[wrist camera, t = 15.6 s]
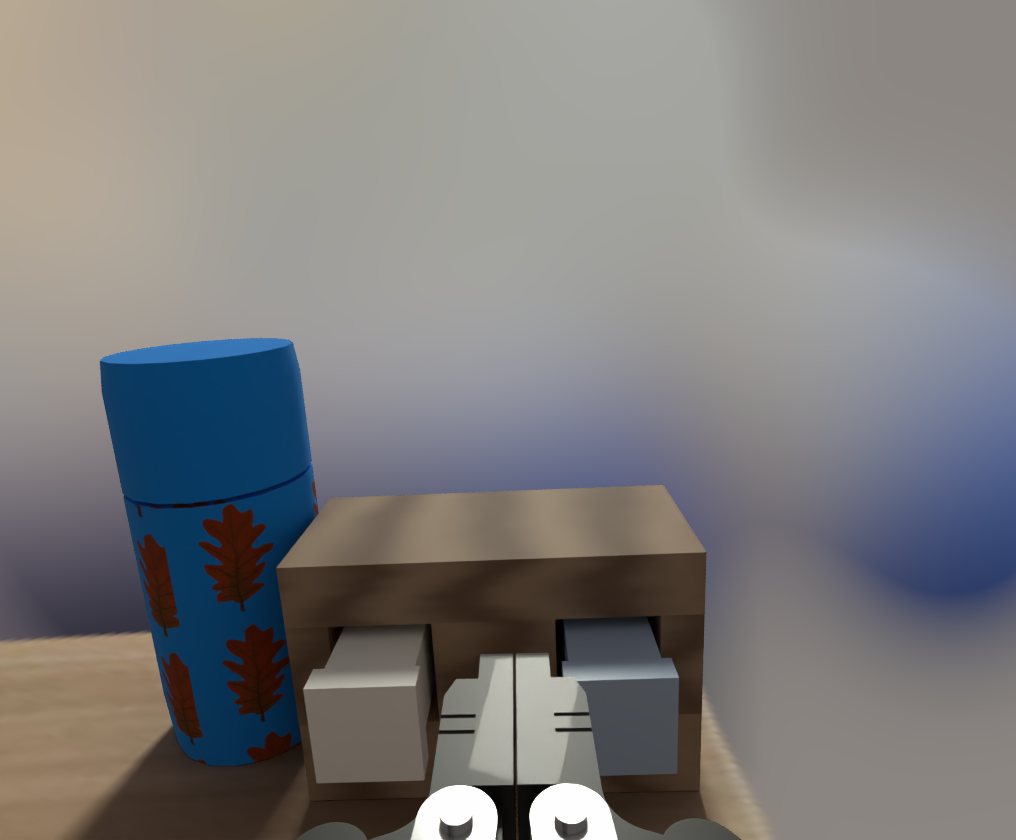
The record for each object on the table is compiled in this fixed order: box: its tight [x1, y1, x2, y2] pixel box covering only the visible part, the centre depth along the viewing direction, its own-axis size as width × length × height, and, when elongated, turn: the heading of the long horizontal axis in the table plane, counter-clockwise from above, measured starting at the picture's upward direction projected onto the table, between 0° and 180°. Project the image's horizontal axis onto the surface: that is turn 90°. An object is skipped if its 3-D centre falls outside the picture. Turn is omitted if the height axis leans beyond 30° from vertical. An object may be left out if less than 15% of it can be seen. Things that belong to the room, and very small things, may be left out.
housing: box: [276, 485, 706, 801], centre depth 39 cm, size 22×10×14 cm, turn 89°
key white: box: [303, 624, 436, 783], centre depth 36 cm, size 5×12×5 cm, turn 179°
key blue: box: [559, 616, 679, 776], centre depth 35 cm, size 5×12×5 cm, turn 179°
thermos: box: [100, 338, 319, 766], centre depth 42 cm, size 11×11×25 cm
